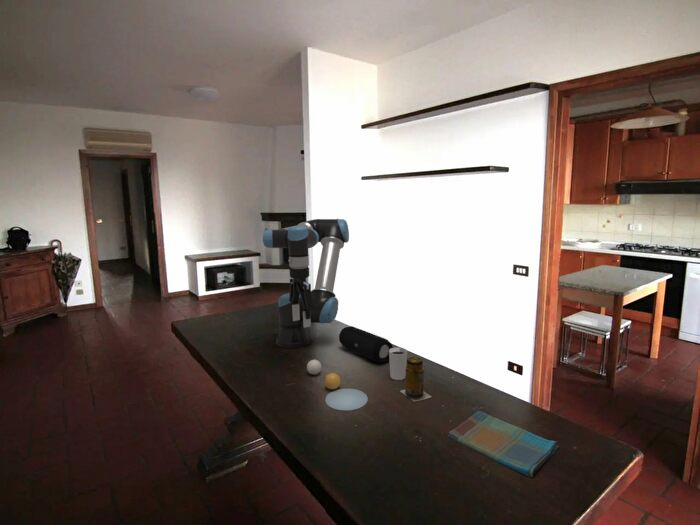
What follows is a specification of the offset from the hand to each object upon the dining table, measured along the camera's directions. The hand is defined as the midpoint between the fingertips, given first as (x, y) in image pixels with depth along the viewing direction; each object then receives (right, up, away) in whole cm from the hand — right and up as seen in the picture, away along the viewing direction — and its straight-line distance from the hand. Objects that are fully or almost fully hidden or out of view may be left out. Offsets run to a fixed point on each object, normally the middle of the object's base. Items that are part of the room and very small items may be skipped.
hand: (301, 323), depth 154 cm
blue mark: (+18, -21, -24) cm, 37 cm away
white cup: (+37, -19, -8) cm, 42 cm away
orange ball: (+13, -18, -17) cm, 28 cm away
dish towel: (+60, -25, -48) cm, 81 cm away
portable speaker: (+25, -16, +13) cm, 32 cm away
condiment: (+41, -21, -22) cm, 51 cm away
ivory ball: (+5, -16, -5) cm, 17 cm away
